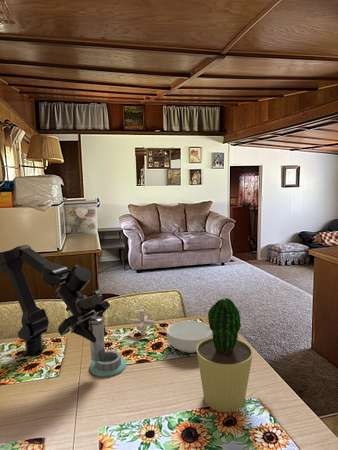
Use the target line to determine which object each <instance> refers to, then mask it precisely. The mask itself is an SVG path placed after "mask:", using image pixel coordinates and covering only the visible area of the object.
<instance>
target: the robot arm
mask: <svg viewBox="0 0 338 450" xmlns="http://www.w3.org/2000/svg"><path fill="white" fill-rule="evenodd" d="M24 263H26V264H27V265H29V266H30V267H31V268H33V269H34V270H35V271H36V272H38V273H39V274H40V275H41V279H42V280H43V281H44V283H45V284H47V286H49V287H50V288H53V287H56V286H59V285H60V286H59V287H57V288H55V291H54V298H57V297H60V299H61V300H62V301H63V303H64V304H65V305H66V308H65V310H66V312H70V313H71V316H68V317H67V318H65V319H64V320H63V321H62V322H61V323H60V325H58V326H57V328H58V329H57V332H58V333H59V334H60V336H61V337H63V336H64V335H66V334H68V333H69V332H70V334H76V335H78V336H79V337H83V338H84V339H86V340H88V341H89V342H90V341H91V342H93V343H95V342H96V339H95V337H94V335H93V334H92V332H91V331H90V328H89V325H88V323H87V319H88V320H89V319H90V318H92V317H95V316H100V317H103V318H104V314H105V312H106V311H108V309H109V308H110V307H112V306H111V304H110V303H109V301H108V300H103V298H104V296H103V294H102V293H101V291H100V290H99V289H97V290H95V291H93V292H91V296H87V294H81V291H82V290H83V289H85V287H86V285H87V284H89V282H90V281H92V278H93V277H92V273H91V271H90V270H89V269H88V268H87V267H86V268H85V267H84V266H83V267H82V266H81V265H80V264H74V265H73V267H72V268H71V269H69V268H68V267H67V266H66V265H63V264H60V263H57V262H52V261H49V260H48V259H47V258H46V257H44V256H43V255H42V254H40V253H39V252H37V251H36V250H34V249H33V248H32V247H31V246H30V245H28V244H24V245H19V246H16V247H14V248H12V249H10V250H4V251H0V271H1V272H3V273H4V274H5V275H7V276H8V278H9V280H10V283H11V286H12V288H13V291H14V293H15V296H16V298H17V301H18V304H19V306H20V309H21V311H22V315H21V321H20V323H21V326H22V327H21V328H20V329H19V331H18V332H17V336H18V339H19V340H22V341H24V343H25V350H24V351H23V352H22V356H37V355H42V354H43V352H44V350H45V348H46V344H43V336H42V335H43V334H44V333H47V331H48V327H49V316H48V315H47V313H46V309H44V308H39V307H38V306H37V304H36V300H35V299H34V296H33V293H32V291H31V288H30V286H29V283H28V281H27V279H26V277H25V274H24V271H23V269H24ZM70 328H71V331H70ZM104 337H107V331H106V326H105V325H104Z"/></svg>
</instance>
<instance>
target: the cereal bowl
mask: <svg viewBox="0 0 338 450" xmlns="http://www.w3.org/2000/svg"><path fill="white" fill-rule="evenodd" d="M206 324H207V323H205V322H202V321H197V320H181V321H176V322H174V323H172V324H170V325H168V326H167V328H166V338H167V341H168V343H169V344H170V346H171V347H173V348H175V349H177V350H178V351H181V352H184V353H189V354H191V353H197V350H196V348H197V345H198V344H199V343H200V342H201V341H203V340H205V339H208V338H211V337H213V336H212V335H213V333H211V332H212V330H211V329H210V328H209V324H207V325H206Z"/></svg>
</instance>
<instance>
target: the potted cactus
mask: <svg viewBox="0 0 338 450" xmlns="http://www.w3.org/2000/svg"><path fill="white" fill-rule="evenodd" d="M207 313H208V314H207V321H206V322H207V323H205V324H206V325H209V328H210V329H211V330H212V332H211V333H213V335H212V337H211V338H208V339H205V340H203V341H201V342H200V343H199V344H198V345H197V348H196V350H197V351H196V354H197V355H196V356H197V362H198V366H199V367H198V368H199V374H200V380H201V386H202V392H203V393H202V394H203V399H204V402H205V404H206V406H208V407H210V408H211V409H213V410H214V411H217V412H222V413H232V412H231V411H233V412H236V411H238V410H237V409H239V408H240V409H241V408H243V406H244V405H243V404H245V401H246V396H247V395H246V394H247V389H248V384H249V377H250V371H251V366H252V360H253V354H254V351H253V349H252V346H251V345H249V344H248V343H247V342H246V341H243V340H241V339H240V338H239V335H240V336H242V335H241V334H242V332H243V331H242V330H241V326H243V324H242V323H241V322H242V321H241V319H242V318H243V316H241V315H242V312H241V311H240V310H239V308H238V306H237V304H235V303H234V298H231V299H230V297H224V298H223V297H222V298H221V299H219V300H217V301H214V304H212V302H210V306H209V310H208V311H207ZM240 409H239V410H240ZM235 410H236V411H235Z"/></svg>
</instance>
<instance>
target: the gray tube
mask: <svg viewBox="0 0 338 450" xmlns="http://www.w3.org/2000/svg"><path fill="white" fill-rule="evenodd" d="M104 323H105V317H104V316H103V317H100V316H95V317H92V318H88V324H89V325H88V328H89V329H90V331H91V332H92V334H93V335H94V337H95V339H96V342H95V343H93V342H91V341H90V340H89V344H90V360H91V362H92V361H95V362H99V361H102V360H104V359H105V351H106V347H105V346H106V345H105V343H106V342H105V336H104V326H105V324H104Z"/></svg>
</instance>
